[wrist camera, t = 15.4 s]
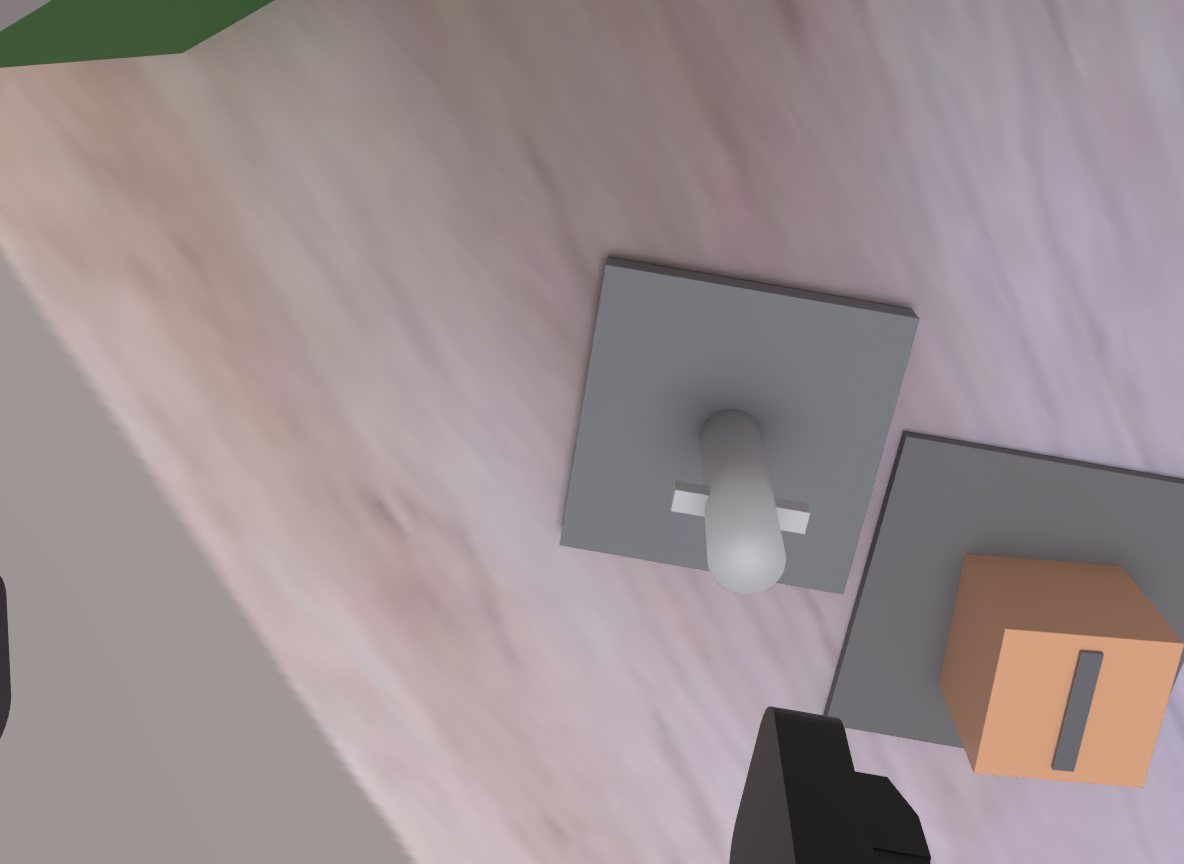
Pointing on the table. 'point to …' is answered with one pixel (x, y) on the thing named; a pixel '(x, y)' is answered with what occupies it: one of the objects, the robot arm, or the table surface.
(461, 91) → the table surface
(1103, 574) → the tan cube
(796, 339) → the grey peg stand
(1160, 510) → the rubber mat
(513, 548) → the table surface
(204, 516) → the table surface
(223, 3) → the hardback book
